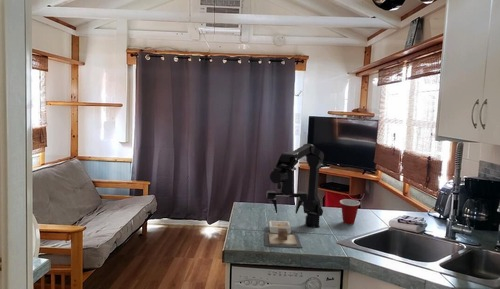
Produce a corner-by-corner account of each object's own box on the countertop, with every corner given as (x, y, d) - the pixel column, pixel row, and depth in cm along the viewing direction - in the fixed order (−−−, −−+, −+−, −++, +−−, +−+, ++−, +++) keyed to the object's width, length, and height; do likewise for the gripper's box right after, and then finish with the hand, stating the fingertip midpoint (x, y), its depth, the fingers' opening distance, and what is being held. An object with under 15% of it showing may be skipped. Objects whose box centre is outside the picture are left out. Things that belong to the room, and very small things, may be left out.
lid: (294, 236, 173) (294, 226, 173) (297, 245, 161) (297, 234, 161) (268, 234, 173) (269, 225, 173) (269, 243, 161) (270, 233, 161)
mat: (297, 235, 175) (297, 234, 175) (302, 248, 159) (302, 247, 159) (264, 234, 175) (264, 233, 175) (265, 246, 159) (265, 245, 159)
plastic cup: (336, 224, 198) (338, 202, 197) (339, 219, 208) (341, 198, 207) (357, 227, 194) (359, 204, 193) (359, 221, 204) (361, 200, 203)
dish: (288, 227, 188) (288, 221, 188) (290, 233, 178) (291, 227, 178) (269, 226, 188) (269, 220, 188) (270, 232, 178) (270, 226, 178)
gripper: (305, 177, 179) (303, 209, 180) (266, 176, 178) (265, 208, 180) (308, 182, 167) (307, 215, 169) (267, 181, 167) (266, 214, 169)
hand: (286, 213), depth 172 cm, fingers open, 9 cm apart
